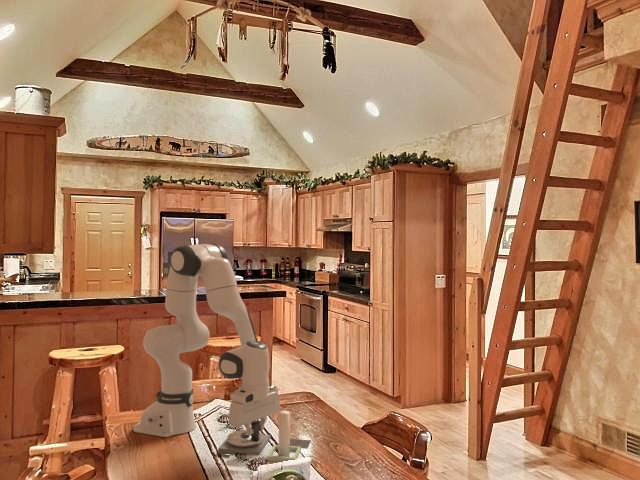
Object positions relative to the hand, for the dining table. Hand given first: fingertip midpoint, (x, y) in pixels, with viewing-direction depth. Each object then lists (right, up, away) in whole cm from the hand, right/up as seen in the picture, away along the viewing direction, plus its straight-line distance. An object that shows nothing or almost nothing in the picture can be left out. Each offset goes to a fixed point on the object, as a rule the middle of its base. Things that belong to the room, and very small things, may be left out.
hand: (255, 432), depth 165 cm
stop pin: (+10, -6, -5) cm, 13 cm away
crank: (-4, -4, +3) cm, 6 cm away
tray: (+10, -6, -5) cm, 13 cm away
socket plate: (+15, -7, +4) cm, 16 cm away
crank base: (-4, -6, +3) cm, 8 cm away
